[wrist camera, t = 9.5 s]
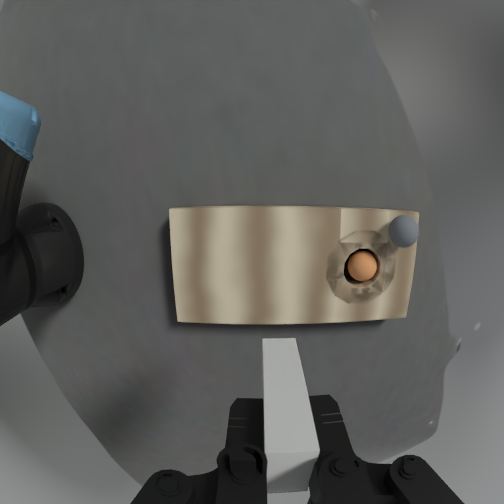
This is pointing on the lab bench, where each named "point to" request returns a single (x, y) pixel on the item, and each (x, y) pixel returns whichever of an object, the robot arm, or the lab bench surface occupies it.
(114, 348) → the lab bench surface
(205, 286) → the board
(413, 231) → the grey ball
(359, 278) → the ball
